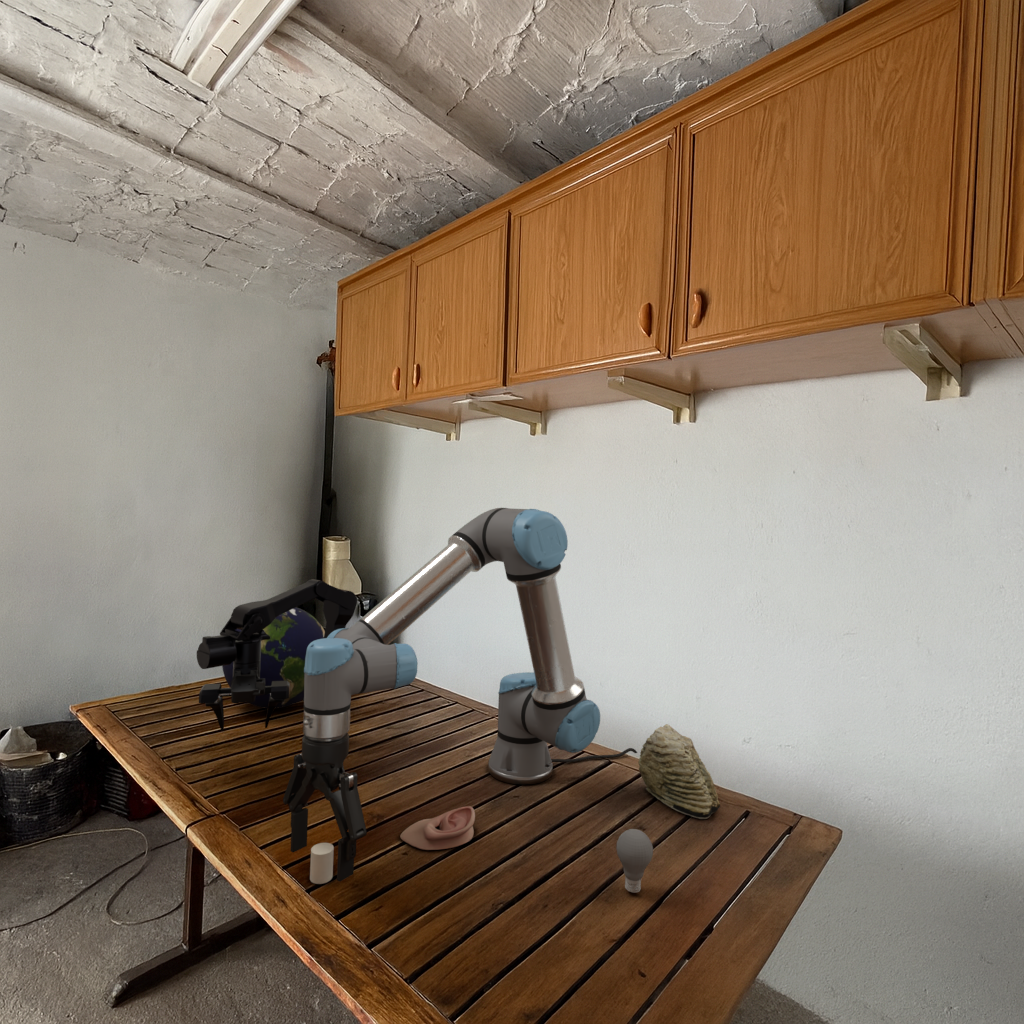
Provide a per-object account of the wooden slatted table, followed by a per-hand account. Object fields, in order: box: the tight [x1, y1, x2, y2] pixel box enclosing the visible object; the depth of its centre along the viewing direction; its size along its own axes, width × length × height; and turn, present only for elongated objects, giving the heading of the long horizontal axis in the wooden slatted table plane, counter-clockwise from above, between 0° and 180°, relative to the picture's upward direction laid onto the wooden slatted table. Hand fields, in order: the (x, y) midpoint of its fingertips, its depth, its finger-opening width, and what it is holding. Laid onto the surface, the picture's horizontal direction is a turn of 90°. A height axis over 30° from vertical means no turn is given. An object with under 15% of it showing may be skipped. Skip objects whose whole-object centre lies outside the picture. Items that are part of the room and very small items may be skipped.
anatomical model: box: [399, 805, 476, 851], centre depth 120 cm, size 13×4×12 cm
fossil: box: [637, 723, 721, 820], centre depth 139 cm, size 9×18×15 cm, turn 46°
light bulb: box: [615, 828, 654, 894], centre depth 106 cm, size 6×6×10 cm
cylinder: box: [309, 842, 335, 885], centre depth 106 cm, size 4×4×5 cm
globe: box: [221, 607, 325, 709], centre depth 188 cm, size 30×30×30 cm
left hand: (244, 729), depth 144 cm, fingers open, 9 cm apart
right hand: (321, 862), depth 106 cm, fingers open, 12 cm apart
